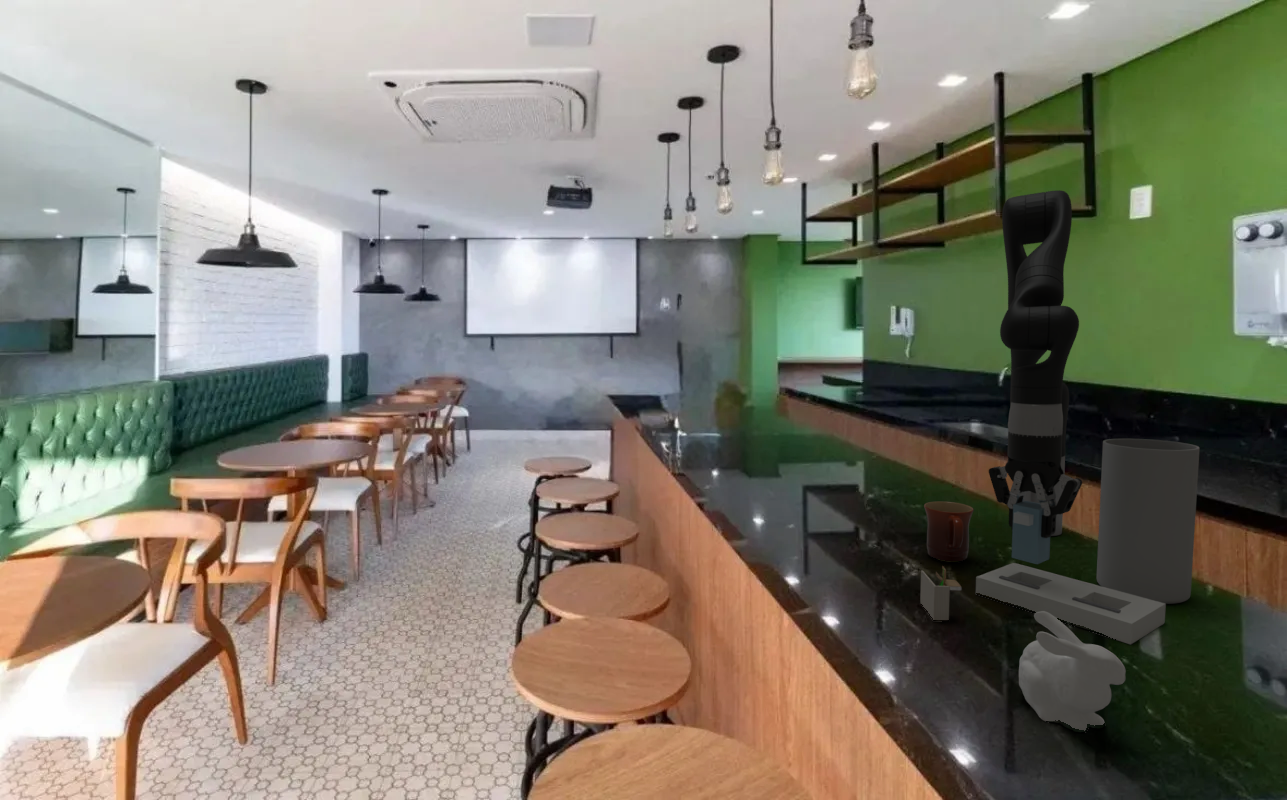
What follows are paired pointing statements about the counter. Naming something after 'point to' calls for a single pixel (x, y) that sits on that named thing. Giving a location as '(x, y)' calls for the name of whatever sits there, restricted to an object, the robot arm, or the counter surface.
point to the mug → (948, 530)
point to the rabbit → (1067, 675)
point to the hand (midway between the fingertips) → (1031, 532)
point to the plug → (1029, 533)
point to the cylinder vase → (1147, 518)
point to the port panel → (1074, 601)
